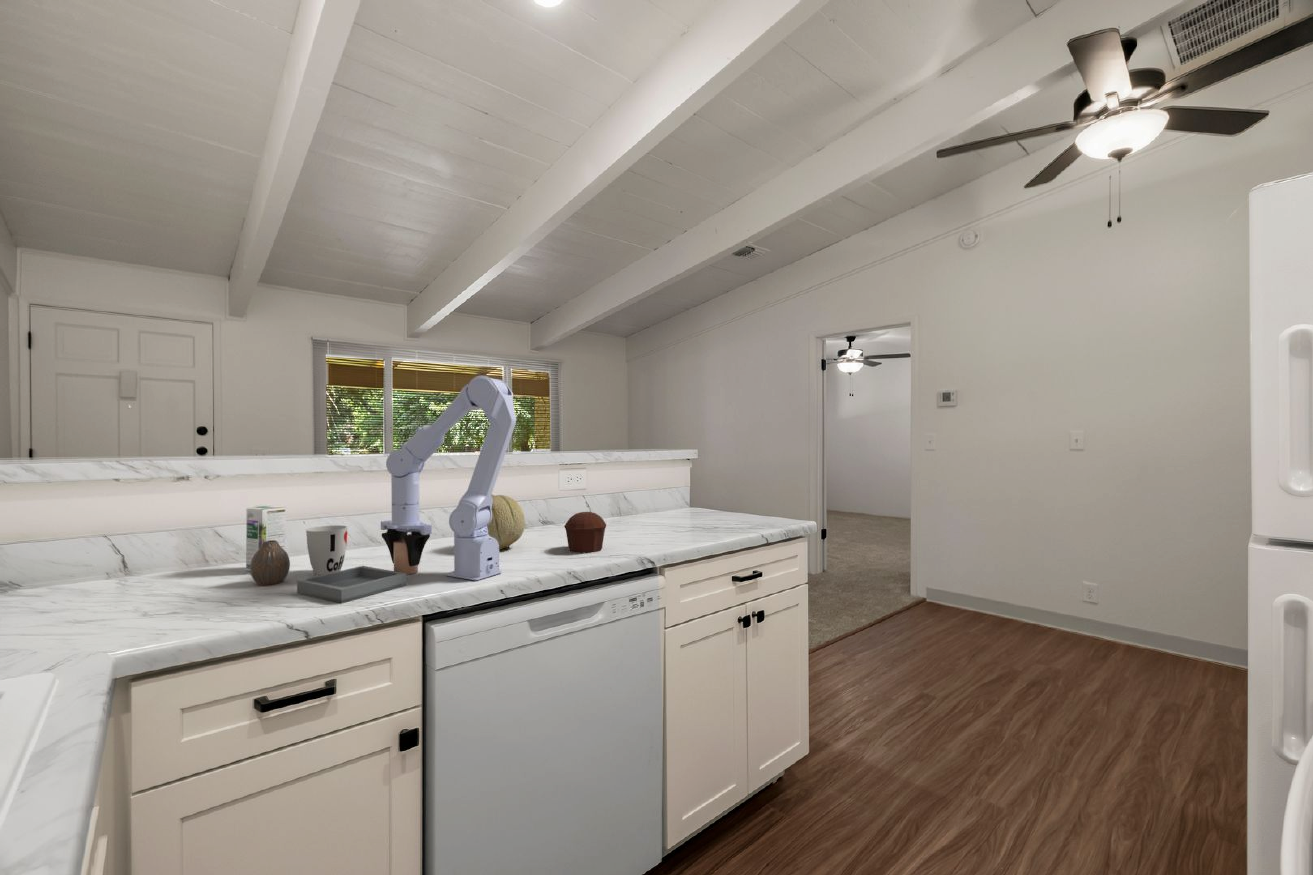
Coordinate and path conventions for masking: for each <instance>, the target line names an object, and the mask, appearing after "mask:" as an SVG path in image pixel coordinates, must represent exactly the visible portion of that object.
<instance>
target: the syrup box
mask: <svg viewBox="0 0 1313 875" xmlns="http://www.w3.org/2000/svg"><path fill="white" fill-rule="evenodd" d="M286 510H287V507H286V506H273V505H259V506H258V505H256V506H251V507H247V508H246V516H245V517H246V521H245V522H246V525H245V526H246V528H245V529H246V534H245V537H246V542H245V544H246V545H245V546H246V547H245V555H246V556H245V571H246V572H250V564H251V561H252V558H253V556H254V555H255V553H256V552H257V551H258V550H259V549H260V547H261V546H262V544H263V542H264V541H270V540H276V541H277V542H278V544H279V545H280V546H281V547H282V548H283V549H284V550H285V551H286V548H287V546H286V544H287V542H286V539H287V537H286V536H287V535H286V533H287V531H286V526H287V525H286V524H287V523H286V521H287V520H286V519H287V517H286V516H287V511H286Z"/></svg>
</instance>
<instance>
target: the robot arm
mask: <svg viewBox="0 0 1313 875" xmlns="http://www.w3.org/2000/svg"><path fill="white" fill-rule="evenodd" d="M513 398H514V393H513V391H512V390H511V388H510V387H509V385H508V383H506V381H504V380H503V379H499V378H492V377H489V376H487V375H478V376H474V377H473V378H472V379H471V380H470V381H469V382H468V384H466V385H464V386H463V387H462V388H461V389H460V391H459V393H458V395H456V397H455V398H454V399H453V401H452V402H450V403H449V405H448V406H447V407H446V408H445V410H444V411H443V412H442V413H441V414H440V415H439V416H438V417H437V419H436V420H435V421H434V422H433V423H432V424H426V425H425V424H424V425H423V426H418V427H417V428H415V430H414V432H415V434H413V436H412V437H411V438H410V439H409V440H408V441H407V442H405V443H404V442H403V443H402V445H401V446H400V447H401V449H395V450H392V451H390V453H389V455H388V456H387V458H386V462H385V465H386V466H385V467H386V469H387V472H388V473H389V474H391V477H390V478H391V482H390V483H391V520H388V519H386V520H382V521H380V530H381V531H385V530H386V532H381V537H382V539H383V540H384V543H385V544H386V546H387V548H388V552H389V555H390V560H391V561H392V564H394V542H395V541H399V540H405V543H406V546H407V550H408V561H409V566H415V565H418V566H420V563H421V559H422V555H423V551H424V548H425V545H426V543H427V542H428V540H429V539H430V537H431V534H432V533H433V531H432V530H433V529H432V527H433V526H432V524H427V523H424V522H421V521H420V474H421V472H422V471H423V469H424V468H425V462H426V461H428V460H429V458H430V457H431V456H433V454H435V453H436V452H437V450H439V449H440V447H441V446H443V444H444V443H445V435H446V433H448V432H449V431H450V430H451V429H452V428H453V427H455V425H456V424H458V423H459V421H461V419H463V418H464V417H465V416H466V415H467V414H468V413H470V412H472V411H476V410H482V412H483V413H484V415H485V416H486V418H487V420H488V422H489V425H488V428H487V431H486V434H485V438H484V440H483V443H482V446H481V448H480V452H479V455H478V457H477V462H476V463H475V466H474V469H473V472H472V476H471V478H470V482H469V484H468V487H467V489H466V492H464V494H463V495H462V497H461V498H460V500H459V502H458V505H457V506H456V507H455V509H453V511H452V512H450V515H449V517H448V526H449V528H450V530H451V532H453V536H454V537H453V540H454V541H453V544H454V545H453V547H454V548H453V552H454V553H453V554H454V555H453V557H454V558H453V561H454V562H453V563H454V565H453V566H454V567H453V569H454V570H453V571H449V572H445V576H447V577H453V578H458V579H463V580H464V579H465V580H470V581H471V580H472V581H479V580H483V579H486V578H489V577H492V576H495V575H499V574H501V573H502V572H503V571H502V570H500V549H499V544H498V541H497V540H496V539H495V538H493V537H490V536H489V534H488V529H487V526H488V525H489V524H490V522H491V520H492V511H491V508H492V504H493V499H492V496H491V495H493V491H494V488H495V485H496V482H497V480H498V478H499V477H498V476H499V473H500V471H501V468H502V464H503V461H504V459H505V456H506V453H507V450H508V448H509V445H510V441H511V438H512V435H513V432H514V429H515V426H516V423H517V417H516V411H515V407H514V400H513ZM408 533H409V534H408Z"/></svg>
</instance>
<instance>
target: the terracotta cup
mask: <svg viewBox="0 0 1313 875" xmlns="http://www.w3.org/2000/svg"><path fill="white" fill-rule="evenodd" d="M393 571H396V572H401V573H406V576H409V575H410V576H411V575H414V574H418V572H419V565H415V566H409V561H408V550H407V546H406V543H405V540H399V541H395V542H394V563H393Z"/></svg>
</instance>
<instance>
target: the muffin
mask: <svg viewBox="0 0 1313 875" xmlns="http://www.w3.org/2000/svg"><path fill="white" fill-rule="evenodd" d="M606 528H607V523H606V521H604V519H603V517H601V516H600V515H599V514H597V513H596V512H592V511H580V512H577V513H575V514H573V515H572V516H570V517H569V518H568V520H567V521H566V523H565V524H564V529H565V533H566V534H565V535H566V539H567V546H568V551H569V552H572V553H574V552H581V553H580V554H589V553H588V552H594V553H598V552H600V551H601V550H602V549H603V546H604V545H603V544H604V539H605V538H604V537H605V533H606V532H605V531H606ZM601 552H602V551H601Z"/></svg>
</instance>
